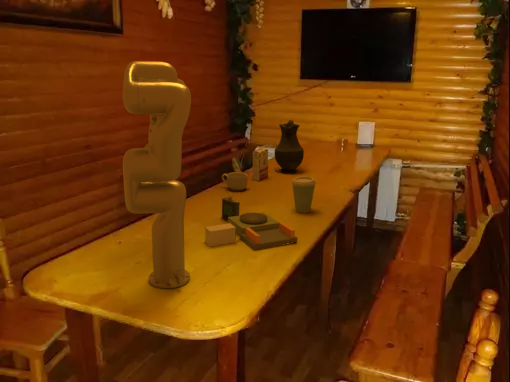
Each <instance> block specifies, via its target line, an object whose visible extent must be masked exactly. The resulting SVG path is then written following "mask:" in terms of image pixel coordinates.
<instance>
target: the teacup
mask: <svg viewBox="0 0 510 382" xmlns="http://www.w3.org/2000/svg"><path fill="white" fill-rule="evenodd" d="M248 176H249V175H248V174H247V173H245V172H243V171H242V172H241V171H235V172H229V173H223V174H222V175H221V180H222V181H223V182H224V183H225V184H226V186H227V188H229V189H230V190H231V191H234V192H241V191H243V190H244V189H246V188H247V186H248ZM225 177H226V179H225Z"/></svg>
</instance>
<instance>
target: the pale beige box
mask: <svg viewBox="0 0 510 382" xmlns="http://www.w3.org/2000/svg"><path fill="white" fill-rule="evenodd" d="M204 229H205V230H204V231H205V234H204V236H205V237H204V238H205V239H204V240H205V241H204V242H205V243H206V244H207V245H208V246H209V247H214V246H215V247H216V246H223V245H227V244H232V243H234V244H235V243H236V240H237V233H236V227H234V226H233V225H232V224H230V223H228V222H227V223H224V224H215V225H210V226H205V227H204Z"/></svg>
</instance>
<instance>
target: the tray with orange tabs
mask: <svg viewBox="0 0 510 382" xmlns="http://www.w3.org/2000/svg"><path fill="white" fill-rule="evenodd" d="M228 223H230V224H232V225H233V226H234V227H236V235H238V236H239V239H240V240H241V241H242V242H243V243H245V244H246V245H247V246H248V247H250V249H252V250H253V251H257V249H258V250H263V249H262V248H264V249H268V248H267V247H270V248H274V247H273V246H275V247H279V246H278V245H281V246H283V245H282V244H287V243H292V242H297V243H298V237H297V236H296V235H295V231H296V230H295V229H294V228H292V227H291V226H289V225H287V224H286V223H285V222H279V221H278V220H277V219H274V218H273V217H272V216H270V215H268V214H267V213H265V212H263V211H262V212H246V213H242V214H239V216H233V217H228V221H227V224H228ZM292 244H293V243H292ZM287 245H288V244H287Z"/></svg>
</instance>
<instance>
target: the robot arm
mask: <svg viewBox="0 0 510 382" xmlns="http://www.w3.org/2000/svg"><path fill="white" fill-rule="evenodd" d="M122 101H123V102H122V103H123V106H124V109H125V110H126V112H128V113H130V114H132V115H149V125H148V135H147V136H148V143H146V144H145V145H144V146H143V147H135V148H130V149H128V150H126V152H125V153H124V155H123V159H122V174H123V176H122V177H123V191H124V201H125V202H124V203H125V207H126V209H127V211H128V212H129V213H131V214H135V215H136V214H158V215H156V218H155V219H153V222H152V224H151V225H152V226H151V242H152V243H151V244H152V245H151V246H152V247H151V248H152V249H151V250H152V270H153V271H152V272H151V273H150V274H149V275H148V283H149V284H150V285H151V286H153V287H154V288H159V289H175V288H180V287H182V286H186V284H188V283H189V282H190V280H191V274H190V272H189V271H188V270H187V269H186V267H185V266H186V265H185V260H186V259H185V209H186V202H187V189H186V188H187V187H186V186H185V184H184V183H183V182H181V181H179V180H177V179H178V178H179V177H180V175H181V172H182V159H183V157H182V156H183V155H182V151H183V149H182V148H183V144H182V143H183V141H182V138H183V133H184V131H185V127H186V126H187V122H188V120H189V118H190V117H189V116H190V112H191V105H192V95H191V90H190V88H189V87H188V86H187V85H186V84H185V82H184V80H182V79H180V78H178V73H177V70H176V68H175V67H174V66H173V65H172V64H170V63H169V62H165V61H149V60H148V61H147V60H146V61H144V60H142V61H141V60H135V61H131V62H129V63H128V64H127V65H126V67H125V70H124V74H123V87H122Z"/></svg>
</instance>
